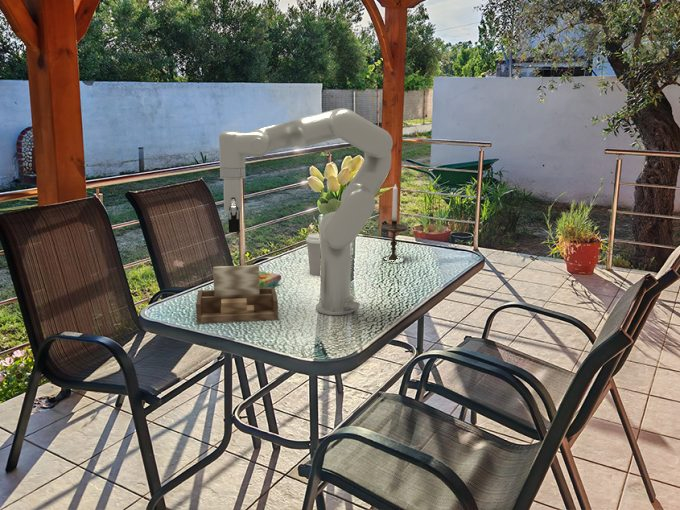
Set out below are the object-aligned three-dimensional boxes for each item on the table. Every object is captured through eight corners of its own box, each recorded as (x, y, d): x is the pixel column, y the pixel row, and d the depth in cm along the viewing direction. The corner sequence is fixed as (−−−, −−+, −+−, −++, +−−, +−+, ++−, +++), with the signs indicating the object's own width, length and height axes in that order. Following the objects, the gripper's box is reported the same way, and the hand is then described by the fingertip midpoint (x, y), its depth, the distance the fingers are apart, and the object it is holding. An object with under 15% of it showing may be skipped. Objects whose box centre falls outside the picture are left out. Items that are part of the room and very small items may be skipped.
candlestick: (407, 264, 264) (410, 178, 255) (380, 264, 264) (382, 178, 255) (405, 257, 275) (407, 174, 266) (379, 257, 275) (381, 174, 266)
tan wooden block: (253, 312, 203) (253, 297, 202) (254, 317, 198) (254, 302, 197) (221, 314, 201) (220, 298, 200) (221, 319, 197) (220, 303, 195)
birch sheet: (259, 307, 208) (258, 265, 204) (259, 308, 206) (258, 266, 203) (215, 309, 205) (213, 266, 202) (214, 310, 204) (213, 267, 200)
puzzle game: (281, 272, 234) (245, 286, 218) (281, 285, 235) (245, 300, 219) (255, 268, 240) (218, 281, 224) (255, 280, 241) (219, 294, 225)
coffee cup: (328, 277, 244) (328, 238, 241) (303, 276, 246) (303, 237, 242) (332, 270, 254) (333, 233, 250) (308, 269, 255) (308, 232, 251)
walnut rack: (275, 307, 210) (274, 287, 209) (278, 322, 197) (277, 300, 195) (199, 311, 206) (198, 290, 205) (197, 326, 193) (196, 304, 191)
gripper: (220, 169, 203) (222, 223, 207) (219, 176, 186) (221, 235, 190) (244, 169, 204) (245, 223, 208) (246, 176, 187) (247, 234, 192)
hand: (234, 228), depth 199 cm, fingers open, 9 cm apart
